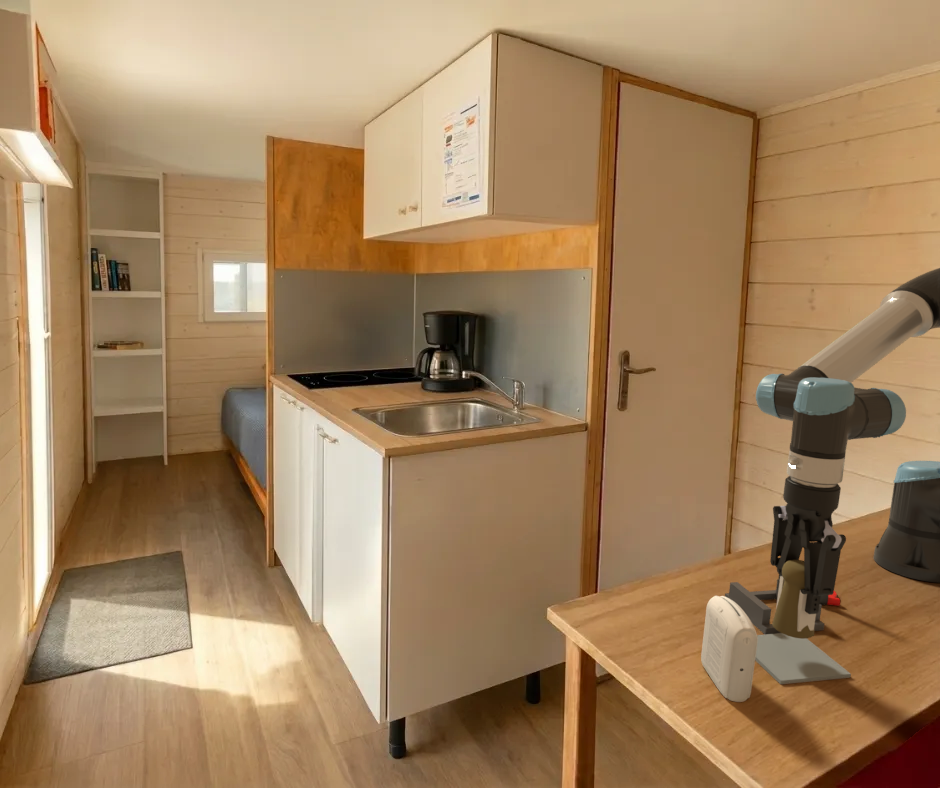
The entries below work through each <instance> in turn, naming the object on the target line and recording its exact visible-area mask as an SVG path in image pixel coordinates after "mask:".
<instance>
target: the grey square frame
mask: <svg viewBox="0 0 940 788" xmlns="http://www.w3.org/2000/svg"><path fill="white" fill-rule="evenodd" d="M777 585H778V579H777V580H776V588H775V589H772V590H757V591H749V590H748V589H747V588H746V587H744V586H743V585H742V584H741V583H739V582H738V581H736V582H733V581H732V582H730V583H729V590H728V593H727V592H726V593H724V596H725V597H727V598H729V599H731V600H733V601H734V602H735V603H736V604H738V605H739V606H740V607H741V609H742V610H743V611H744V612H745V613H746V615H747V616H748V617H749V619H750V621H751V622H752V624H753V626H754V627H756V629H758V630H759V631H760V632H761V633H763V635H765V634H777V633H781V632H779V631H777V630H776V629H775V628H774V627H773V625H772V623H771V615H772V608H771V607H770V606H768V605H767V604H766V603H764V600H766V601H767V600H775V601H777V598H778V590H777ZM822 607H823V606H822V605H821V604H820V605H819V611H818V613H817V614H816V617H815V625H814V632H815V631H824V630H825V623H824V622H823V621H822V620H821V613H822Z"/></svg>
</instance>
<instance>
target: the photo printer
mask: <svg viewBox="0 0 940 788" xmlns="http://www.w3.org/2000/svg"><path fill="white" fill-rule="evenodd" d="M705 609H706V610H705V618H704V619H705V620H704V626H703V628H704V629H703V635H702V636H703V638H702V647H701V653H700V654H701V655H700V660H701V664H702V667H704V669H705V671H706V672H707V673H706V674H708V675H709V677H710V679H711V680H712V682H713V684H714V685H715V687H716V688H717V689H718V690H719V692H720V694H721V695H722V696H723V697H724V698H725V699H728V700H729V701H732V702H736V703H741V702H742V703H743V702H745V701H747V700H748V699H750V698H751V694H752V687H753V680H754V674H755V673H754V671H755V664H756V661H755V657H756V650H757V641H758V637H757V635H758V634H757V631H756V628H755V625H753V624H752V622H751V621H750V619H749V617H748V616H747V615H746V613H745V612H744V611H743V610H742V609H741V607H740V606H739V605H738V604H736V603H735V602H734V601H733V600H731V599H729V598H727V597H725V595H721V596H719V595H714V596H713V597H711V598H710V599H709V600H708V602H707V604H706V608H705Z"/></svg>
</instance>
